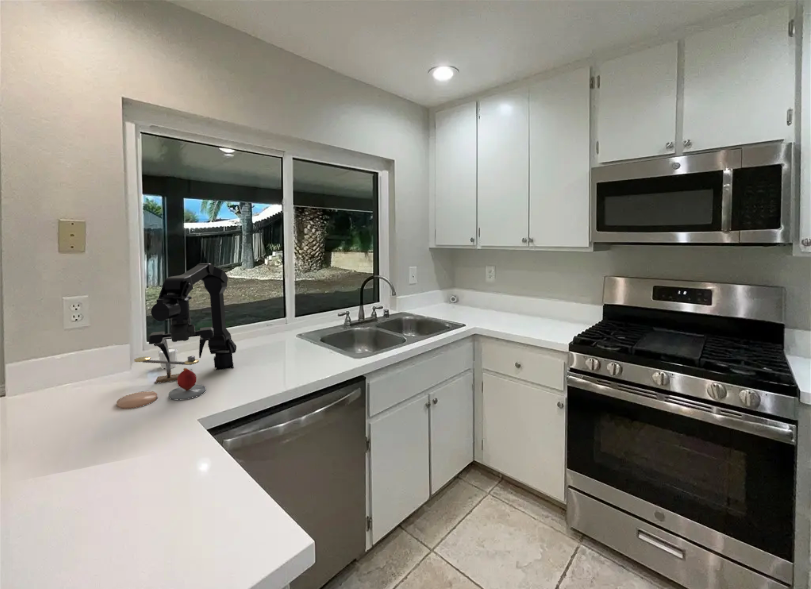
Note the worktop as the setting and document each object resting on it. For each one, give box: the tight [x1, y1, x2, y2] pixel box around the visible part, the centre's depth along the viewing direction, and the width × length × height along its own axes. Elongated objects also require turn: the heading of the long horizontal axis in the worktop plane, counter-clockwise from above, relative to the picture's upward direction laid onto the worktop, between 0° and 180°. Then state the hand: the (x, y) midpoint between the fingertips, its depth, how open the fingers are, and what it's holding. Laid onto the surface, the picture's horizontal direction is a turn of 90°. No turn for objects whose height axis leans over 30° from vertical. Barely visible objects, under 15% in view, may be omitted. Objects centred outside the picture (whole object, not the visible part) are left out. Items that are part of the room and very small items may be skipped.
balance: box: [133, 355, 200, 384], centre depth 147 cm, size 21×5×9 cm, turn 114°
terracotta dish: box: [116, 390, 158, 410], centre depth 128 cm, size 11×11×1 cm
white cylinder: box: [157, 348, 178, 369], centre depth 162 cm, size 7×7×7 cm
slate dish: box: [168, 383, 207, 401], centre depth 134 cm, size 11×11×1 cm
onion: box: [176, 367, 197, 391], centre depth 134 cm, size 6×6×8 cm
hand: (184, 359), depth 133 cm, fingers open, 9 cm apart
